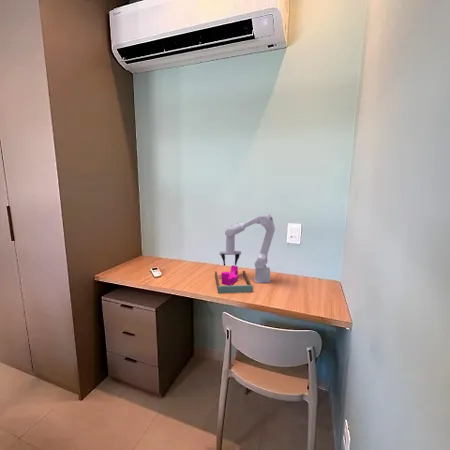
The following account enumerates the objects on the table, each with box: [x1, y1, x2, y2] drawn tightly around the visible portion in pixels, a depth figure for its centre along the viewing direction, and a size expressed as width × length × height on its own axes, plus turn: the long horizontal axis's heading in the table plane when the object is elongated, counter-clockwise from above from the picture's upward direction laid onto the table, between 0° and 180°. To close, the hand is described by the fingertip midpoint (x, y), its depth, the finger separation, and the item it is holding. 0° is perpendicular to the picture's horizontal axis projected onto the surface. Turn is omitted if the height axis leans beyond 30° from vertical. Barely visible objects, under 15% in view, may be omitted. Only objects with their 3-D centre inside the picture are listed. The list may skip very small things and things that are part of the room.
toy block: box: [221, 264, 239, 286], centre depth 175 cm, size 15×6×8 cm, turn 150°
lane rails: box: [214, 270, 252, 291], centre depth 173 cm, size 20×26×3 cm
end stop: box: [217, 284, 254, 294], centre depth 159 cm, size 20×1×4 cm, turn 96°
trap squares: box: [217, 274, 244, 280], centre depth 183 cm, size 16×6×1 cm, turn 96°
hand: (229, 264), depth 183 cm, fingers open, 7 cm apart
